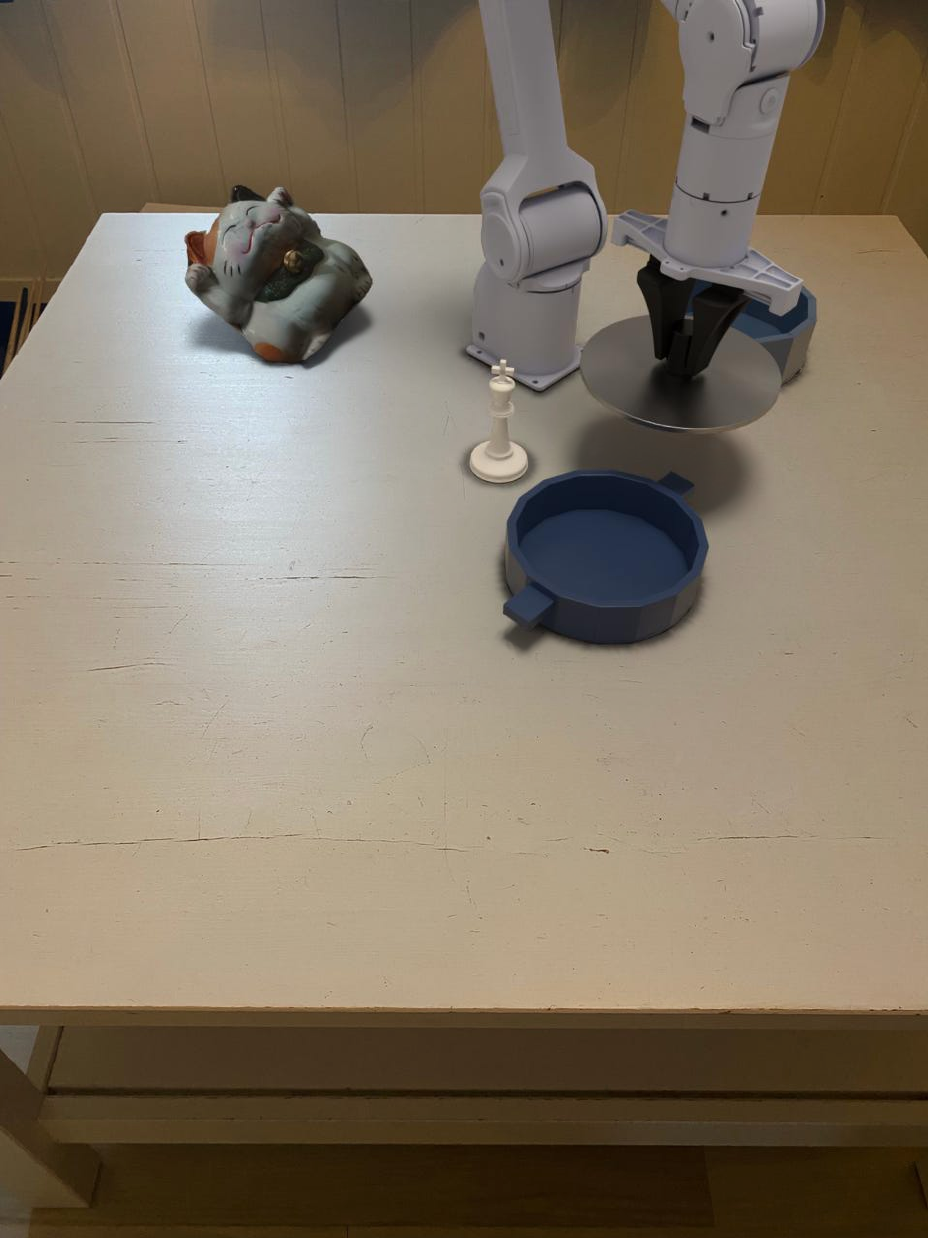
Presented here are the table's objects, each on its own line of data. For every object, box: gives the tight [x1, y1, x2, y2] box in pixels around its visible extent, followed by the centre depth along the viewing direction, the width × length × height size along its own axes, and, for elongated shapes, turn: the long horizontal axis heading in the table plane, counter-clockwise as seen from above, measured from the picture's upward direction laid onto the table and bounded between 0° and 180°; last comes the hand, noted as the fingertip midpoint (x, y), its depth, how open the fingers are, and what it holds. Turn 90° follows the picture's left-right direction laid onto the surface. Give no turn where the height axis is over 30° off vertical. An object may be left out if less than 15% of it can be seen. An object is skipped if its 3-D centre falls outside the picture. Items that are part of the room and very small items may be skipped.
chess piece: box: [469, 359, 529, 484], centre depth 76 cm, size 5×5×10 cm
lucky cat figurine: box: [183, 184, 374, 364], centre depth 89 cm, size 15×12×14 cm
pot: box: [685, 279, 818, 386], centre depth 89 cm, size 15×15×5 cm
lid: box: [579, 314, 782, 435], centre depth 72 cm, size 15×15×5 cm
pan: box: [502, 469, 710, 645], centre depth 70 cm, size 14×20×4 cm
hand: (680, 361), depth 73 cm, fingers closed on lid, 2 cm apart
